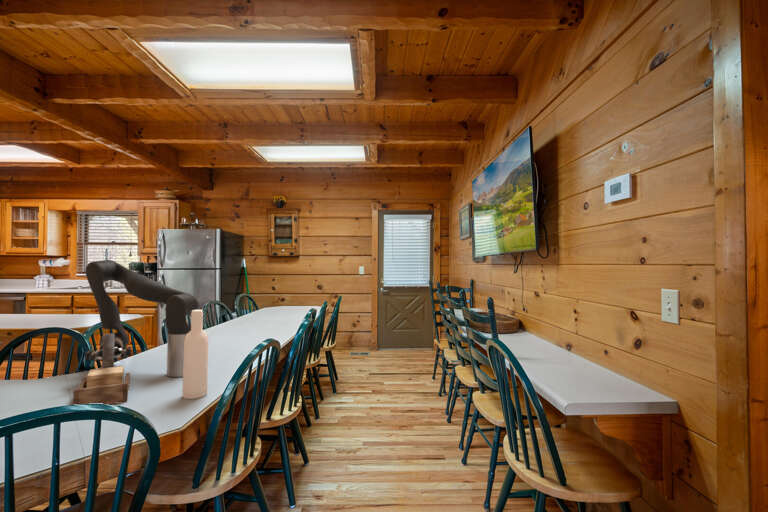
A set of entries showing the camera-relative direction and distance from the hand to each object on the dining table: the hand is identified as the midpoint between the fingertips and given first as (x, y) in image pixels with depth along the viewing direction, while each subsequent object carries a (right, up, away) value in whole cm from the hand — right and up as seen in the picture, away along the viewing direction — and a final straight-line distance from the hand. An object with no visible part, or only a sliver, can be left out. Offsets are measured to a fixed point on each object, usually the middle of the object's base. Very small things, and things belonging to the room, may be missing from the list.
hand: (107, 357), depth 140 cm
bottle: (+36, -12, -7) cm, 38 cm away
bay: (+5, -11, -9) cm, 15 cm away
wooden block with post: (+1, -10, -3) cm, 10 cm away
